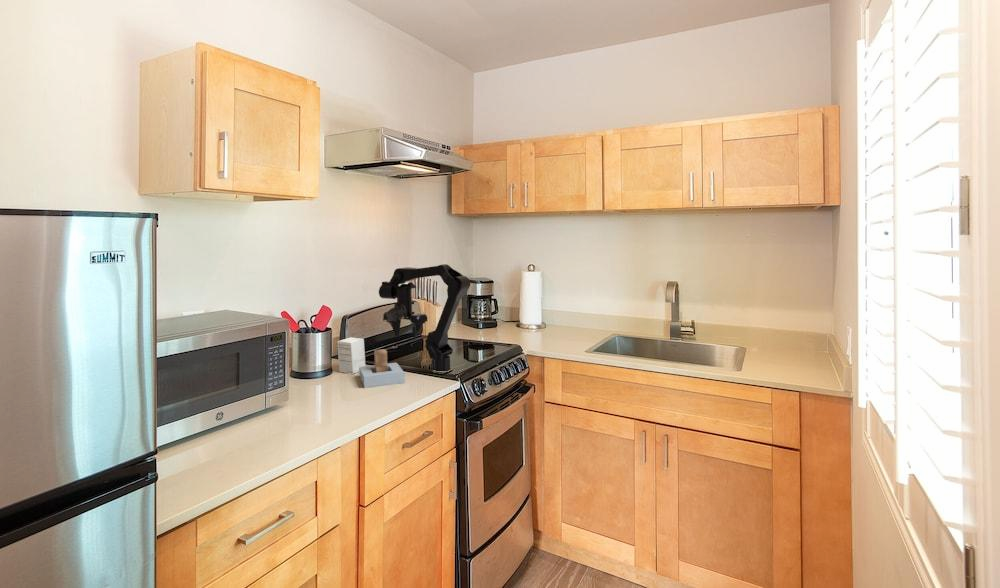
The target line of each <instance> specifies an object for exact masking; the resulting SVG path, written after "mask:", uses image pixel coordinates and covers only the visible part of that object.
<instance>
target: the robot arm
mask: <svg viewBox="0 0 1000 588" xmlns="http://www.w3.org/2000/svg"><path fill="white" fill-rule="evenodd" d="M436 276H439V277H440V278H441V280H442V282H443V283H444V284H445V285H446V286H447V289H446V293H447V294H446V295H447V298H446V301H445V304H444V307H443V309H442V312H441V315H440V317H439V320H438V322H437V324H436V328H435V330H431V331H429V332H428V334H427V337H426V340H425V341H424V342H425V344H424V345H425V349H426V350H427V352H428V353H427V354H428V355H429V358H430V359H431V370H432V369H433V370H436V371H448V370H450V369H451V357H450V355H452V354H453V351H454V350H453V348H452V346H450V344H449V343H448V341H449V335H448V333H449V330H450V327H451V325H452V322H453V319H454V318H455V317H454V316H455V315H456V312H457V308H458V306H459V304H460V302H461V300H462V299H463V298H464V296H465V295H466V294H467V293H468V291H469V289H470V287H471V281H470V279H469V277H468V276H465V275H463V274H462V273H461V272H459V271H457V270H456V269H454V268H452V267H451V265H449V264H446V263H445V264H439V265H434V266H427V267H421V268H417V267H398V268H396V269H394V271H393V274H392V276H391V278H390V280H389V281H382V282H381V285H380V286H379V288H378V289H379V290H378V296H379V297H380V298H381V299H385V300H386V299H387V300H389V299H390V300H396V302H394V305H393V307H392V308H390V309H389V310H388V311H385V312H384V313H383V320H385V322H387V324H389V325H390V326H391V328H392V330H393V332H394V335H395V338H399V337H400V332H401V331H400V330H401V324H402V323H401V321H402V320H408V321H409V322H411V323H409V325H410V327H411V328H412V329H411V330H412V339H413V340H416V339H417V338H418V335H419V333H420V331H421V329H422V326H423V325H424V324H425V323H426V322H428V315H426V314H425V313H416V314H415V311H413V305H414V304H415V301H413V297H412V296H413V295H412V289H416V288H417V286H416V285H415V284H414V283H413V281H415V280H417V279H420V278H429V277H436ZM411 281H412V282H411Z"/></svg>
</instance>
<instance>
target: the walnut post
mask: <svg viewBox="0 0 1000 588" xmlns="http://www.w3.org/2000/svg"><path fill="white" fill-rule="evenodd" d="M373 355H374V356H373V357H374V358H373V359H374V365H375V373H378V372H386V371H388V350H386V349H385V348H384V349H383V348H382V349H374V350H373Z"/></svg>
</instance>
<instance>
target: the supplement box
mask: <svg viewBox="0 0 1000 588" xmlns="http://www.w3.org/2000/svg"><path fill="white" fill-rule="evenodd" d="M337 354H338V355H337V356H338V369H339V371H338V372H339V373H342V372H344V373H343V374H348V373H351V374H350V375H355V374H357V373H359V367H363V366H366V351H365V338H359V337H347V338H344V339H341V340H337ZM354 373H355V374H354Z"/></svg>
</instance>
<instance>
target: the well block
mask: <svg viewBox="0 0 1000 588" xmlns="http://www.w3.org/2000/svg"><path fill="white" fill-rule="evenodd" d="M387 364H388V371H386V372H378V373H375V364H373V365H365V366H363V367H359V372H358V373H359V379H360V381H361V384H362V385H364V386H363V387H364V389H368V388H367V387H370V388H376V387H383V386H384V387H385V386H391V385H398V384H405V372H404V370H403V368H402V367H401V366H400V365H399V364H398V363H397V362H391V363H390V362H389V363H388V362H387Z"/></svg>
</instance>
